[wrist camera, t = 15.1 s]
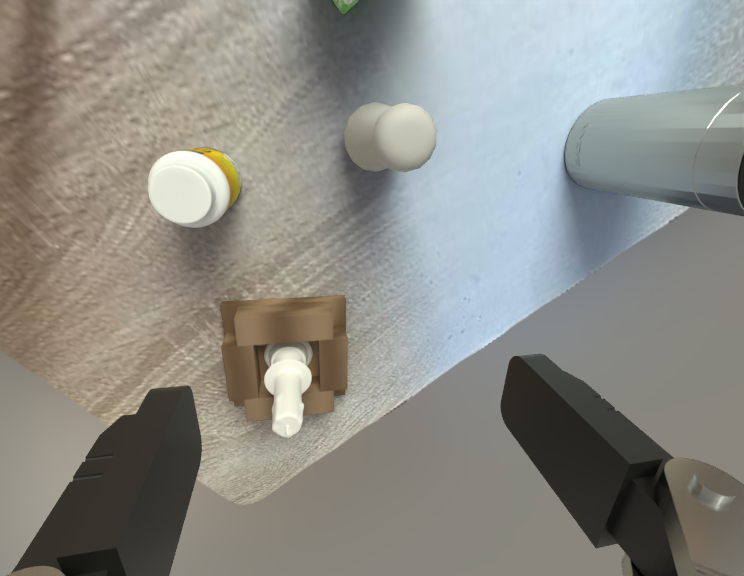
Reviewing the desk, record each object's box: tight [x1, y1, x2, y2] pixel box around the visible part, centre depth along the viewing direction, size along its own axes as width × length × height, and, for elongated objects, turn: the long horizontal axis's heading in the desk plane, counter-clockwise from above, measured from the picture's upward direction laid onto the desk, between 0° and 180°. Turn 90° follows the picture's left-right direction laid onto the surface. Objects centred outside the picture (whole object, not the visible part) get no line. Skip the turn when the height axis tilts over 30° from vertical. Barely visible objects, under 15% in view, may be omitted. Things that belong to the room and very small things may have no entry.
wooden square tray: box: [221, 295, 348, 422], centre depth 41 cm, size 13×13×4 cm
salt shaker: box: [344, 102, 436, 172], centre depth 29 cm, size 6×6×13 cm
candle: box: [264, 341, 313, 438], centre depth 36 cm, size 5×5×12 cm
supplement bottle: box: [148, 148, 242, 228], centre depth 29 cm, size 6×6×10 cm
